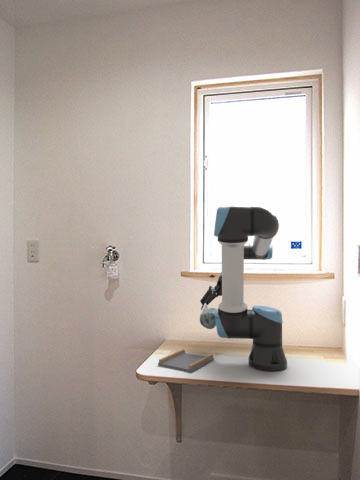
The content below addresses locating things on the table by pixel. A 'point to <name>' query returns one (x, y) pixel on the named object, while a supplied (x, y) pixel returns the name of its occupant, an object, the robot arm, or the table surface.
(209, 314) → the grey thick cylinder
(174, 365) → the slot board
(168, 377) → the table surface
